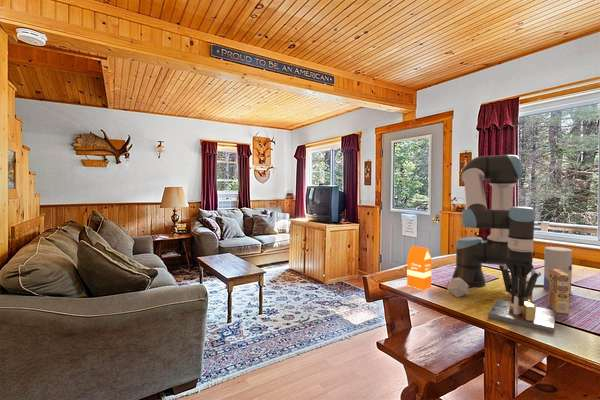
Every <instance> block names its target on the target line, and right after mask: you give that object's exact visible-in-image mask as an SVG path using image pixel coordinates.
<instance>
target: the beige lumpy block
mask: <svg viewBox="0 0 600 400" xmlns="http://www.w3.org/2000/svg"><path fill="white" fill-rule="evenodd" d="M509 302H510V310H511V311H512V312H513V311H514V304H512V302H511V300H509ZM536 307H537V306H536V305H535V304H534V303H532V302H531V301H530V300H529V301H528V302H527V301H524V305H523V306H521V313H520V314H521V315H522V316H523V317H524V318H525V319H526V320H528V321H534V317H535V314H536Z"/></svg>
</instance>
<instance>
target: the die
mask: <svg viewBox="0 0 600 400" xmlns="http://www.w3.org/2000/svg"><path fill="white" fill-rule="evenodd" d="M469 287H470V286H469V285H468V284H467V283H466V282H465V281H464V280H462V279H461V278H459V277H458V278H453V279H452V278H451V279H450V280H449V281H448V284H447V290H448V291H449V292H450V293H451V294H452V295H453V296H455V297H456V298H460V297H463V296H465V295H466V294H468V292H469Z"/></svg>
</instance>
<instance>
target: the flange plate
mask: <svg viewBox="0 0 600 400" xmlns="http://www.w3.org/2000/svg"><path fill="white" fill-rule="evenodd" d="M524 301H527V302H528V301H529V297H525V298H524ZM556 313H557V312H556V311H555V310H554V309H549V308H545V307H540V306H536V314H535V317H534V321H528V320H526V319H525V318H524V317H523V316H522V315H521V314H518V315H516V314H513V312H512V311H511V310H510V300H504V299H499V298H498V299H496V300H495V303H494V304H493V305H492V307H491V308H490V310H489V312H488V315H487V316H488V317H487V318H488V319H490V320H493V321H498V322H503V323H506V324H511V325H515V326H518V327H523V328H528V329H531V330H536V331H541V332H545V333H549V334H554V333H555V324H556V323H555V322H556V317H557V314H556Z"/></svg>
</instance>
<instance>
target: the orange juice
mask: <svg viewBox="0 0 600 400" xmlns="http://www.w3.org/2000/svg"><path fill="white" fill-rule="evenodd" d="M406 258H407V261H406V263H407V265H406V267H407V268H406V275H407V276H406V286H407V285H409V286H412V287H416V288H419V289H422V290H421V291H423V290H424V291H426V290H428V289H427V288H429V289H431V288H432V257H431V254H430V250H429V248H427V247H420V246H416V245H415V246H414V245H411V247H410V250H409V252H408V255H407V257H406ZM430 287H431V288H430ZM419 289H418V290H419ZM425 289H426V290H425Z"/></svg>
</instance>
